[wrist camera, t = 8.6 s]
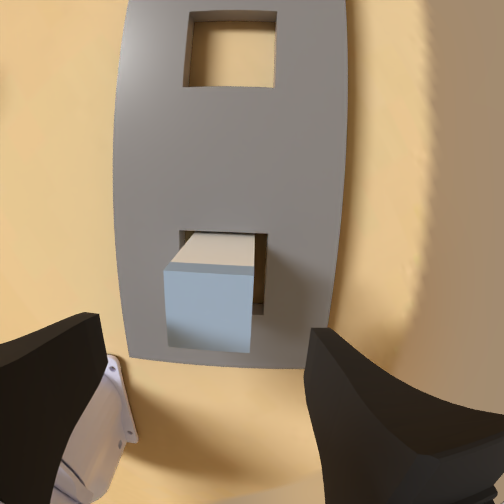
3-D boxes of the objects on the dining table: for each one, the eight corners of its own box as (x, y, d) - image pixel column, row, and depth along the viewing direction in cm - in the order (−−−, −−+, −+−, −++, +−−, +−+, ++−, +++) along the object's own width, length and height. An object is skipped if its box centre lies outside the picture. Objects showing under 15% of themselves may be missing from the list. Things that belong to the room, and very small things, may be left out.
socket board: (316, 355, 20) (320, 368, 18) (136, 345, 20) (129, 357, 18) (337, -18, 13) (343, -29, 12) (142, -18, 13) (134, -28, 12)
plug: (252, 285, 19) (249, 352, 12) (197, 282, 19) (168, 346, 12) (254, 231, 18) (254, 275, 11) (197, 228, 18) (163, 270, 11)
